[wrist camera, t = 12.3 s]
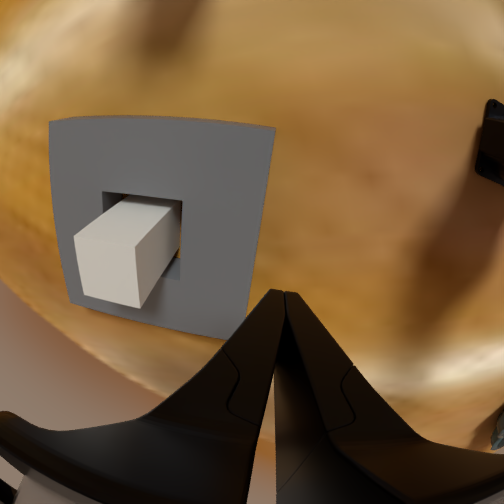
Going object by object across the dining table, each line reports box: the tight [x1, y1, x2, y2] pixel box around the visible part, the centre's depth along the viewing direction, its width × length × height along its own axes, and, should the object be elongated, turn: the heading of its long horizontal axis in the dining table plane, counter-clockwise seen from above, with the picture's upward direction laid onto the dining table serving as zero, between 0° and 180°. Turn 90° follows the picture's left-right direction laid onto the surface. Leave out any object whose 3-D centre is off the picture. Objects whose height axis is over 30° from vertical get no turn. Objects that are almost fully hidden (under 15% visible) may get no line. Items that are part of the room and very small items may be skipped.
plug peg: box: [74, 194, 181, 308], centre depth 19 cm, size 4×4×8 cm
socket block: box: [49, 115, 276, 340], centre depth 21 cm, size 16×16×3 cm
